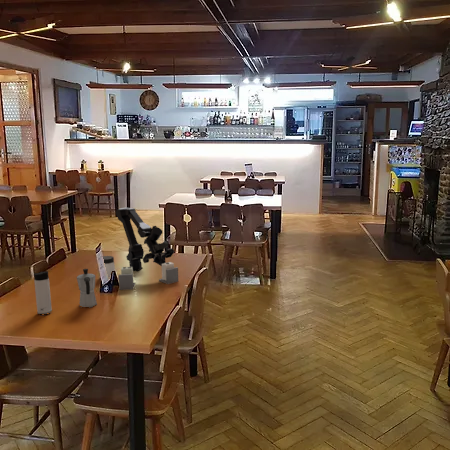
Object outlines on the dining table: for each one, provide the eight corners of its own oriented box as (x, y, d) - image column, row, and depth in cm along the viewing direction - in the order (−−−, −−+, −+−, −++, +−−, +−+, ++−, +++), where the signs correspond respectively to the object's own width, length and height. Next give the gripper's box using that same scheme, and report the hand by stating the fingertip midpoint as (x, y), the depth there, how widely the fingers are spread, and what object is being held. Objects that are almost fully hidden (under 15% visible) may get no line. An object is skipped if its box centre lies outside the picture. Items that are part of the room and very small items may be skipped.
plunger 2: (162, 279, 265) (161, 263, 264) (170, 277, 269) (169, 261, 267) (166, 280, 262) (165, 264, 261) (174, 278, 266) (173, 262, 264)
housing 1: (121, 284, 261) (121, 270, 259) (135, 284, 261) (134, 270, 260) (119, 289, 253) (118, 275, 251) (133, 289, 253) (132, 274, 251)
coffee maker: (77, 301, 235) (75, 266, 232) (96, 299, 238) (93, 264, 235) (80, 312, 222) (77, 274, 218) (99, 309, 225) (96, 272, 221)
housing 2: (158, 280, 266) (158, 267, 265) (169, 278, 271) (168, 264, 270) (168, 284, 260) (167, 270, 259) (178, 281, 265) (177, 267, 264)
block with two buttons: (123, 282, 260) (122, 266, 259) (133, 282, 261) (132, 266, 259) (122, 284, 256) (121, 268, 255) (132, 284, 257) (131, 268, 255)
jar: (99, 276, 277) (97, 256, 274) (113, 274, 280) (112, 255, 277) (101, 280, 268) (100, 260, 266) (116, 278, 272) (114, 258, 269)
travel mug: (43, 316, 217) (39, 274, 213) (34, 313, 220) (30, 272, 217) (55, 312, 222) (51, 270, 218) (46, 309, 226) (42, 268, 222)
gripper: (144, 239, 261) (157, 263, 255) (171, 234, 273) (184, 256, 267) (137, 251, 268) (149, 274, 262) (164, 245, 280) (176, 267, 274)
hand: (165, 267), depth 266 cm, fingers closed, pressing on plunger 2
